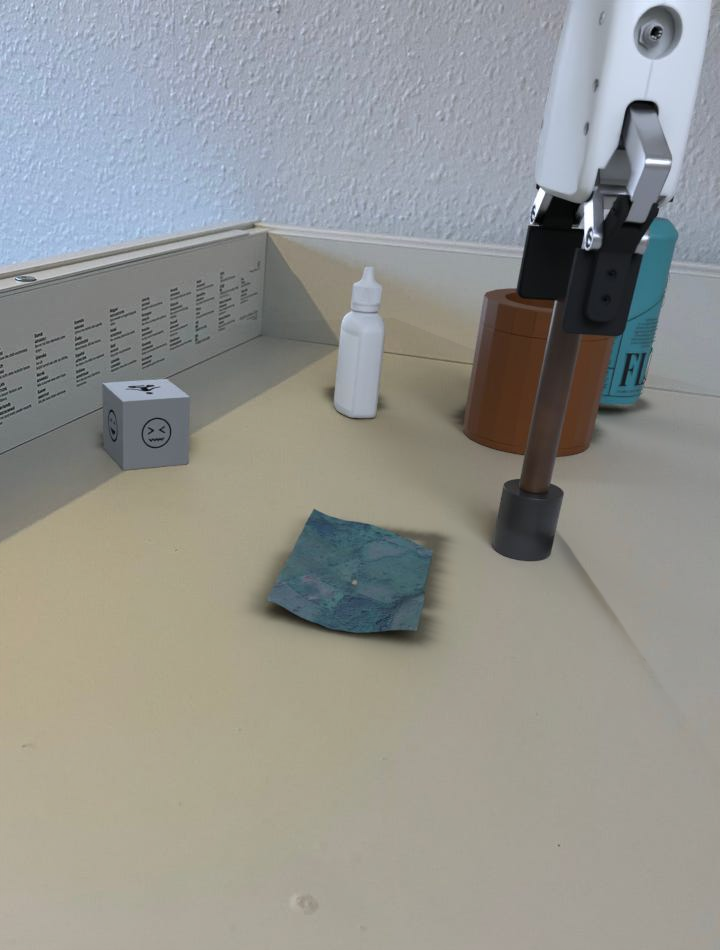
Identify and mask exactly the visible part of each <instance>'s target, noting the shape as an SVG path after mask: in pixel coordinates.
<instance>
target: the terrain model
mask: <svg viewBox="0 0 720 950" xmlns="http://www.w3.org/2000/svg"><path fill="white" fill-rule="evenodd" d="M433 553H434V549H431V548H428V547H426V546H423V545H421V544H418V543H416V542H415V541H413V540H411V539H409V538H405V537H403V536H402V535H399V534H397V533H395V532H393V531H390V530H388V529H386V528H382V527H380V526H377V525H374V524H371V523H365V522H361V521H354V520H345V519H341V518H338V517H334V516H331V515H328V514H326V513H324V512H321V511H320V510H317V509H315V508H313V510H312V512H311V513H310V515H309V517H308V518H307V520H306V522H305V524H304V527H303V528H302V531H301V532H300V534H299V535H298V537H297V540H296V542H295V544H294V546H293V549H292V551H291V552H290V555H289V556H288V557H287V560H286V562H285V563H284V566H283V568H282V569H281V571H280V572H279V574H278V577H277V579H276V582H275V584H274V585H273V587H272V589H271V591H270V593H269V594H268V595H267V598H266V600H267V601H269V602H272V603H274V604H277V605H278V606H281V607H282V608H284V609H286V610H287V611H289V612H290V613H292V614H293V615H296V616H298V617H300V618H302V619H304V620H306V621H309V622H311V623H314V624H318V625H320V626H322V627H325V628H327V629H330V630H335V631H340V632H341V631H342V632H349V633H355V634H356V633H358V634H361V633H363V634H364V633H379V632H387V631H388V632H389V631H416V632H417V631H418V628H419V625H420V619H421V615H422V611H423V606H424V602H425V595H426V593H425V587H426V583H427V581H428V580H427V579H428V575H429V570H430V564H431V560H432V556H433Z"/></svg>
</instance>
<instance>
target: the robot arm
mask: <svg viewBox="0 0 720 950" xmlns="http://www.w3.org/2000/svg"><path fill="white" fill-rule="evenodd" d="M712 3H713V0H568V2H567V5H566V9H565V14H564V19H563V22H562V24H561V28H560V35H559V39H558V43H557V49H556V53H555V57H554V61H553V66H552V70H551V75H550V80H549V86H548V90H547V95H546V99H545V105H544V108H543V109H544V111H543V113H542V114H543V115H542V119H541V126H540V132H539V137H538V143H537V150H536V156H535V165H534V180H535V182H536V184H535V189H536V190H537V193H536V195H535V198H534V201H533V203H532V205H531V208H530V213H529V225H527V230H526V235H525V241H524V246H523V252H522V257H521V261H520V266H519V267H520V268H519V275H518V279H517V284H516V288H517V289H516V293H517V295H518V296H519V297H521V298H523V299H537V300H552V301H555V300H556V299H558V298H565V303H564V308H563V312H562V317H561V322H560V327H561V329H562V330H563V331H565V332H566V333H570V334H585V335H601V336H620V335H621V334H623V332H624V331H625V328H626V324H627V320H628V316H629V311H630V307H631V303H632V299H633V295H634V291H635V287H636V282H637V278H638V274H639V270H640V266H641V262H642V258H643V254H644V253H645V251H646V249H647V247H648V244H649V238H650V225H651V224H652V222H653V220H654V218H656V217H658V215H659V212H660V209H661V208H662V207H664V206H666V205H667V204H668V203H670V202H669V201H670V200H671V199H672V198H673V196H674V197H675V195H676V192H677V189H678V186H679V185H678V184H679V182H680V181H679V180H680V177H681V173H682V167H683V163H684V157H685V154H686V151H687V150H686V149H687V145H688V140H689V135H690V130H691V125H692V121H693V116H694V110H695V105H696V101H697V97H698V91H699V86H700V81H701V77H702V76H701V75H702V70H703V65H704V60H705V53H706V46H707V41H708V35H709V30H710V29H709V28H710V20H711V14H712V13H711V12H712ZM604 210H609V211H608V213H607V215H606V216H605V211H604ZM582 222H583V228H579V227H580V225H581V224H582ZM583 243H584V248H583Z"/></svg>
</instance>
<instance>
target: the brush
mask: <svg viewBox="0 0 720 950" xmlns="http://www.w3.org/2000/svg"><path fill="white" fill-rule="evenodd" d="M564 303H565V298H558V299H556V300H555V303H554V308H553V313H552V318H551V323H550V328H549V333H548V338H547V344H546V349H545V354H544V359H543V364H542V369H541V374H540V379H539V384H538V389H537V395H536V400H535V405H534V410H533V415H532V420H531V425H530V430H529V435H528V441H527V446H526V451H525V455H523V456H524V457H523V461H522V467H521V471H520V477H519V478H515V479H509V480H507V481H505V482H504V483H503V485H502V490H501V495H500V500H499V507H498V512H497V517H496V522H495V527H494V533H493V538H492V543H491V546H492V548H493V549H494V551H496V553H498V554H500V555H503V556H505V557H507V558H510V559H515V560H519V561H527V562H529V561H530V562H531V561H532V562H533V561H542V560H545V559H548V558H549V557H550V556H551V554H552V551H553V550H552V549H553V546H554V541H555V535H556V532H557V527H558V523H559V518H560V515H561V514H560V513H561V509H562V505H563V501H564V496H565V492H564V490H563V489H562V488H561V487H559V486H558V485H556V484H554V483H551V482H552V478H553V473H554V468H555V465H556V460H557V456H556V455H557V450H558V445H559V440H560V436H561V431H562V426H563V422H564V417H565V412H566V407H567V403H568V398H569V393H570V389H571V384H572V379H573V374H574V370H575V365H576V360H577V356H578V351H579V346H580V341H581V337H582V334H570V333H566V332H565V331H563V330H562V329H561V327H560V322H561V317H562V312H563V308H564Z"/></svg>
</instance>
